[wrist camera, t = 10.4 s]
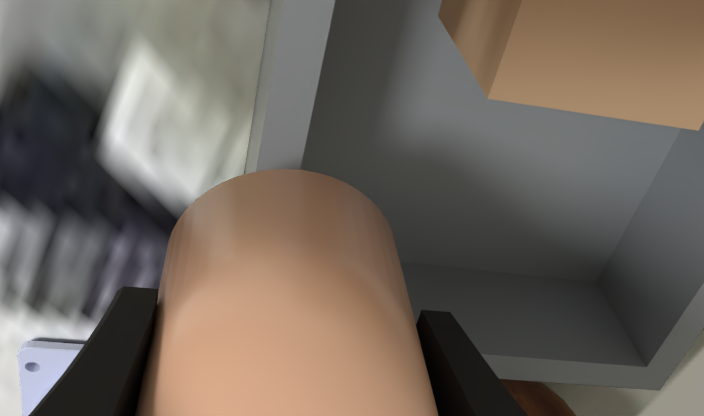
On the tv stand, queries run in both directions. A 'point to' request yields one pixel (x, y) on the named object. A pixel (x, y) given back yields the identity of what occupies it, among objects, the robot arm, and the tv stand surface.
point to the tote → (494, 193)
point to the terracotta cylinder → (284, 307)
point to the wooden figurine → (537, 398)
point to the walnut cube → (587, 55)
